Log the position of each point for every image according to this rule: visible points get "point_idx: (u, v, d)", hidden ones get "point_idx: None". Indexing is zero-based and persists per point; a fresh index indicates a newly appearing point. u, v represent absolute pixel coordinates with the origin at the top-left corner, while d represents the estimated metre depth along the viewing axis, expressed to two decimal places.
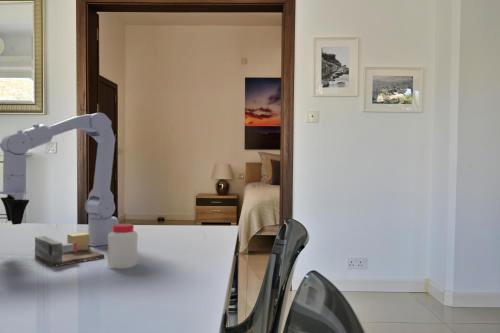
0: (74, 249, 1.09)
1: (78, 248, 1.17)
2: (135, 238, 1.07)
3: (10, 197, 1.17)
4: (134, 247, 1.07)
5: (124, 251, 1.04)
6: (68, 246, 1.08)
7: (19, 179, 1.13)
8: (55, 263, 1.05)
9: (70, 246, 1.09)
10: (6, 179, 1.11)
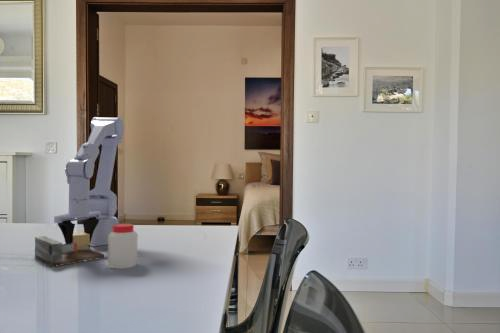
0: (74, 249, 1.09)
1: (78, 248, 1.17)
2: (135, 238, 1.07)
3: (86, 219, 1.22)
4: (134, 247, 1.07)
5: (124, 251, 1.04)
6: (68, 246, 1.08)
7: (72, 203, 1.16)
8: (55, 263, 1.05)
9: (70, 246, 1.09)
10: None
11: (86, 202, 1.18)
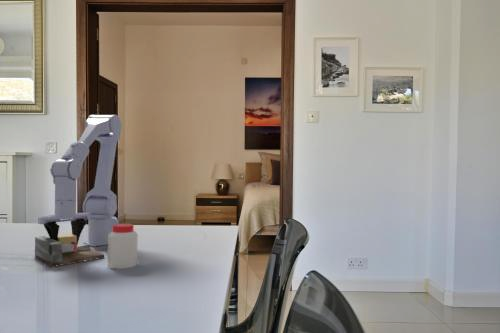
0: (74, 249, 1.09)
1: None
2: (135, 238, 1.07)
3: (74, 221, 1.19)
4: (134, 247, 1.07)
5: (124, 251, 1.04)
6: (68, 246, 1.08)
7: (57, 204, 1.13)
8: (55, 263, 1.05)
9: (70, 246, 1.09)
10: None
11: (71, 203, 1.15)
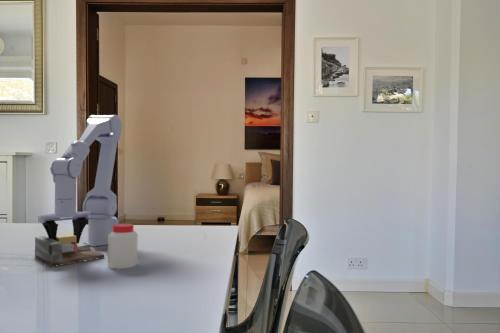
0: (74, 249, 1.09)
1: None
2: (135, 238, 1.07)
3: (75, 219, 1.19)
4: (134, 247, 1.07)
5: (124, 251, 1.04)
6: (68, 246, 1.08)
7: (57, 202, 1.13)
8: (55, 263, 1.05)
9: (70, 246, 1.09)
10: None
11: (71, 202, 1.15)
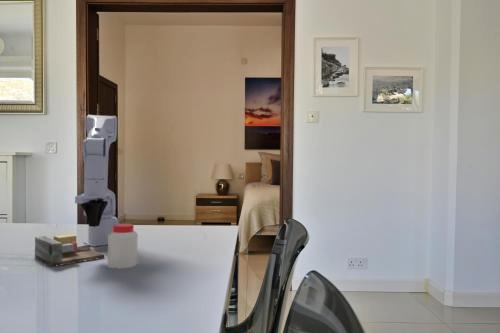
0: (74, 249, 1.09)
1: None
2: (135, 238, 1.07)
3: None
4: (134, 247, 1.07)
5: (124, 251, 1.04)
6: (68, 246, 1.08)
7: (91, 183, 1.11)
8: (55, 263, 1.05)
9: (70, 246, 1.09)
10: (84, 182, 1.13)
11: (104, 182, 1.14)
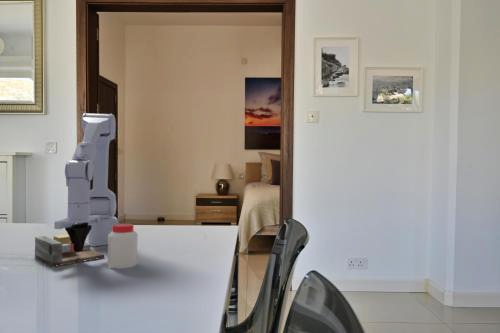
0: (70, 249, 1.09)
1: None
2: (135, 238, 1.07)
3: None
4: (134, 247, 1.07)
5: (124, 251, 1.04)
6: (65, 246, 1.07)
7: (73, 207, 1.08)
8: (55, 263, 1.05)
9: (67, 246, 1.08)
10: None
11: (87, 206, 1.10)
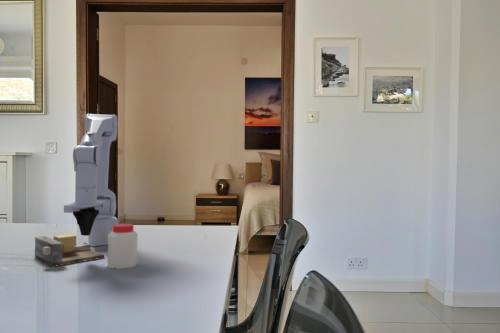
0: None
1: (64, 250, 1.14)
2: (135, 238, 1.07)
3: None
4: (134, 247, 1.07)
5: (124, 251, 1.04)
6: None
7: (81, 191, 1.09)
8: (55, 263, 1.05)
9: None
10: None
11: (95, 190, 1.12)
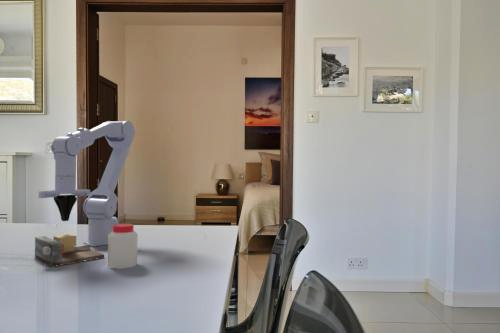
0: None
1: (64, 250, 1.14)
2: (135, 238, 1.07)
3: (65, 197, 1.20)
4: (134, 247, 1.07)
5: (124, 251, 1.04)
6: None
7: (57, 179, 1.17)
8: (55, 263, 1.05)
9: None
10: None
11: (71, 179, 1.18)
